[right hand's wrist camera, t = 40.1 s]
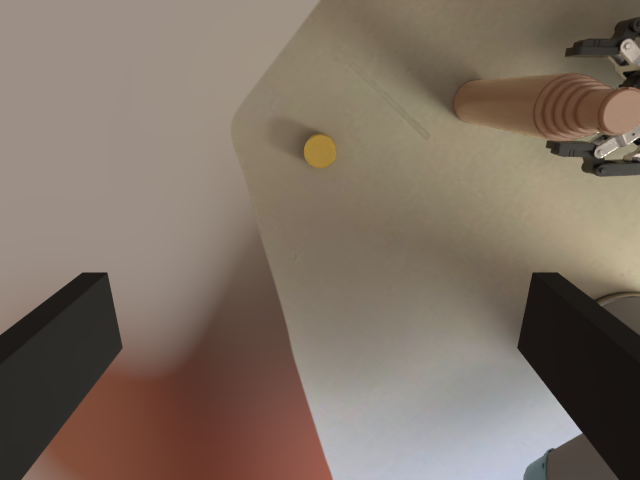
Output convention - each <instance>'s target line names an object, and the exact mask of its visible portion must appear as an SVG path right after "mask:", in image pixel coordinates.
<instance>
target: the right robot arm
mask: <svg viewBox="0 0 640 480" xmlns="http://www.w3.org/2000/svg"><path fill="white" fill-rule="evenodd" d="M517 348H518V349H519V351H520V352H521V353H522V355H523V356H524V357H525V359H526V360H527V361H528V362H529V364H530V365H531V366H532V368H533V369H534V370H535V372H536V373H537V374H538V375H539V377H540V378H541V379H542V381H543V382H544V383H545V385H546V386H547V387H548V388H549V390H550V391H551V392H552V394H553V395H554V396H555V398H556V399H557V400H558V401H559V403H560V404H561V405H562V407H563V408H564V409H565V411H566V412H567V413H568V414H569V416H570V417H571V418H572V420H573V421H574V422H575V423H576V425H577V426H578V427H579V429H580V430H581V431H582V434H580V435H579V436H577V437H575V438H573V439H572V440H570V441H568V442H566V443H565V444H563V445H561V446H560V447H558V448H556V449H554V448H552V449H549V450H548V451H547V452H546V453H545V454H544V456H542V457H541V458H539V459H538V460H536V461H534V462H533V463H531V464H530V465H529V466H528V467H527V469H526V471H525V474H524V478H523V480H640V293H630V292H629V293H618V294H613V295H610V296H606V297H604V298H601V299H599V300H597V301H594V300H593V299H591V298H590V297H589V296H588V295H586V294H585V293H584V292H582V291H581V290H580V289H578V288H577V287H576V286H574V285H573V284H572V283H570V282H569V281H568V280H567V279H565V278H564V277H563V276H561V275H560V274H559V273H532V278H531V283H530V288H529V293H528V298H527V303H526V308H525V313H524V318H523V323H522V328H521V333H520V338H519V342H518V347H517ZM121 349H122V343H121V338H120V333H119V328H118V323H117V318H116V313H115V308H114V303H113V298H112V293H111V288H110V283H109V278H108V274H107V273H81V274H80V275H79V276H77V277H76V278H75V279H73V280H72V281H71V282H70V283H68V284H67V285H66V286H64V287H63V288H62V289H60V290H59V291H58V292H56V293H55V294H54V295H52V296H51V297H50V298H49V299H47V300H46V301H45V302H43V303H42V304H41V305H39V306H38V307H37V308H35V309H34V310H33V311H32V312H30V313H29V314H28V315H26V316H25V317H24V318H22V319H21V320H20V321H18V322H17V323H16V324H14V325H13V326H12V327H10V328H9V329H8V330H7V331H5V332H4V333H3V334H1V335H0V480H21V479H22V478H23V477H24V475H25V474H26V473H27V472H28V470H29V469H30V468H31V466H32V465H33V464H34V462H35V461H36V460H37V458H38V457H39V456H40V455H41V453H42V452H43V451H44V449H45V448H46V447H47V446H48V444H49V443H50V442H51V440H52V439H53V438H54V436H55V435H56V434H57V433H58V431H59V430H60V429H61V427H62V426H63V425H64V423H65V422H66V421H67V420H68V418H69V417H70V416H71V414H72V413H73V412H74V411H75V409H76V408H77V407H78V405H79V404H80V403H81V401H82V400H83V399H84V398H85V396H86V395H87V394H88V392H89V391H90V390H91V388H92V387H93V386H94V385H95V383H96V382H97V381H98V379H99V378H100V377H101V375H102V374H103V373H104V372H105V370H106V369H107V368H108V366H109V365H110V364H111V362H112V361H113V360H114V358H115V357H116V356H117V355H118V353H119V352H120V351H121Z"/></svg>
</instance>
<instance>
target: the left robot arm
mask: <svg viewBox="0 0 640 480" xmlns="http://www.w3.org/2000/svg"><path fill="white" fill-rule="evenodd" d="M636 37H640V17H637V18H633V19H629V20H625V21H621V22H619V23H618V24H617V25H616V26H615V34H614V35H613V37H612V38H611V39H585V40H581V41H578V42H575V43H574V45H573V47H572V48H567V49H566V53H565V57H593V58H602V57H607V58H608V59H609V60H610V61H611V62H612V63H613V64H614V65H615V67H614V69H615V71H616V72H617V73H618V74H619V75H620V76H621V77H622V78H623V79H624V80H625V81H624V82H623V84H622V85H619V88H621V87H634V88H637V89H639V90H640V48H639V47H638V45H637V44H636V43H635V42H634V40H635V38H636ZM631 142H633V143H634V144H636V145H638V148H637V150H636V151H634V152H632V153H628V154H627V155H625V156H623V159H621V160H604V156H606V155H608V154H609V153H611V152H612V151H614V150H615V149H617V148H619V147H623V146H626V145H628V144H630V143H631ZM546 148H550V149H551V153H553V154H555V155H559V156H563V157H582V158H583V160H584V163H583V164H582V167H581V169H582V171H583V172H586V173H591V174H595V175H597V176H600V177H602V176H626V175H640V124H639V125H638V126H637V127H636V128H634V129H633V130H631V131H630V132H628V133H626V134H623V135H618V136H614V135H606V134H603V133H601V132H599V133H598V135H597V136H596V137H594V138H592V139H591V140H589V141H588V142H584V141H552V140H548V141H547V144H546Z"/></svg>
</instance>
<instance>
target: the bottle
mask: <svg viewBox="0 0 640 480" xmlns="http://www.w3.org/2000/svg"><path fill="white" fill-rule="evenodd" d="M453 106H454V111H455V113H456V115H457V117H458V118H459V119H460V120H462V121H464V122H467V123H471V124H476V125H481V126H485V127H490V128H495V129H500V130H504V131H509V132H514V133H519V134H523V135H528V136H533V137H538V138H542V139H547V140H552V141H570V140H575V139H578V138H582V137H585V136H589V135H592V134H596V133H599V132H601V133H603V134H606V135H614V136H618V135H623V134H626V133H628V132H630V131H631V130H633V129H634V128H636V127H637V126H638V125H639V124H640V90H639V89H637V88H634V87H621V88H617V89H612V88H611V87H609V86H607V85H605V84H603V83H601V82H599V81H597V80H596V79H593V78H592V77H590V76H587V75H582V74H577V73H565V74H551V75H538V76H524V77H511V78H497V79H484V80H473V81H469V82H467V83H465V84H464V85H462V86H461V87H460V88H459V90H458V91H457V93H456V95H455V98H454V102H453Z"/></svg>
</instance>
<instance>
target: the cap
mask: <svg viewBox="0 0 640 480" xmlns="http://www.w3.org/2000/svg"><path fill="white" fill-rule="evenodd" d="M335 156H336V147H335V144H334V141H333V140H332V139H331V138H330V137H329V136H328V135H326V134H321V133H319V134H314V135H312V136H311V137H310V138H309V139H308V140H307V141H306V143H305V146H304V157H305V159H306V161H307V162H308V163H309V164H310V165H311V166H313V167H316V168H324V167H327V166H329V165H330V164H331V163H332V162H333V161H334V159H335Z"/></svg>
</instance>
